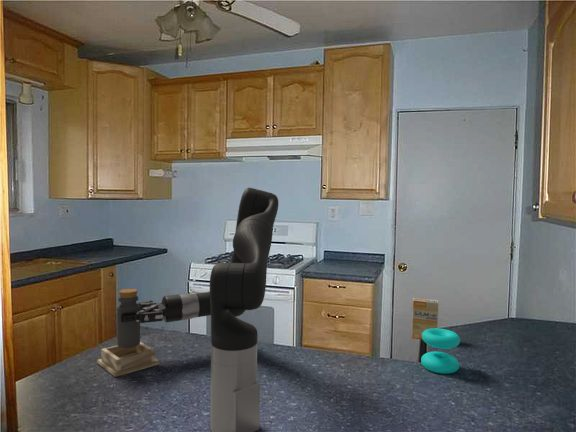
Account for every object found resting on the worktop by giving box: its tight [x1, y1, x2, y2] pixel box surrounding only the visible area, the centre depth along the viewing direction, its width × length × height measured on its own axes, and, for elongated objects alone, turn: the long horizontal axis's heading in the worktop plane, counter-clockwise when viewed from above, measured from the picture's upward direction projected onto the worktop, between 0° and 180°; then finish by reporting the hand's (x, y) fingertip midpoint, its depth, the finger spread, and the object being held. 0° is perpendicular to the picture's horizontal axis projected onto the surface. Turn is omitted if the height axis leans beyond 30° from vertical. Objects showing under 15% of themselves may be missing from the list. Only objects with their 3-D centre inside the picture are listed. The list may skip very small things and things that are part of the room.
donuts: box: [420, 327, 461, 375], centre depth 116 cm, size 10×10×10 cm
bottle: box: [116, 288, 141, 348], centre depth 115 cm, size 6×6×15 cm
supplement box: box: [411, 297, 439, 341], centre depth 141 cm, size 8×5×13 cm, turn 73°
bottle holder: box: [97, 341, 160, 378], centre depth 115 cm, size 12×12×4 cm
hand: (119, 315), depth 114 cm, fingers closed on bottle, 5 cm apart
